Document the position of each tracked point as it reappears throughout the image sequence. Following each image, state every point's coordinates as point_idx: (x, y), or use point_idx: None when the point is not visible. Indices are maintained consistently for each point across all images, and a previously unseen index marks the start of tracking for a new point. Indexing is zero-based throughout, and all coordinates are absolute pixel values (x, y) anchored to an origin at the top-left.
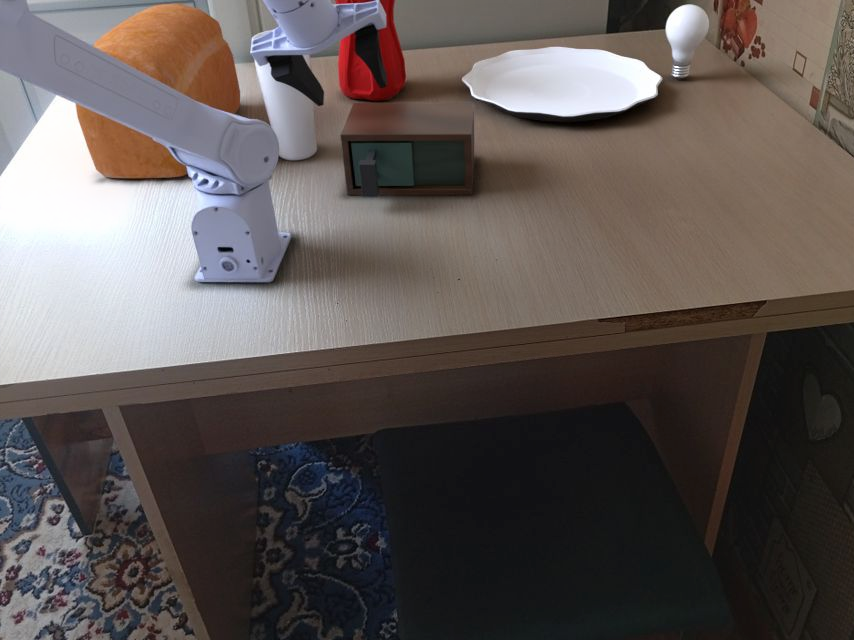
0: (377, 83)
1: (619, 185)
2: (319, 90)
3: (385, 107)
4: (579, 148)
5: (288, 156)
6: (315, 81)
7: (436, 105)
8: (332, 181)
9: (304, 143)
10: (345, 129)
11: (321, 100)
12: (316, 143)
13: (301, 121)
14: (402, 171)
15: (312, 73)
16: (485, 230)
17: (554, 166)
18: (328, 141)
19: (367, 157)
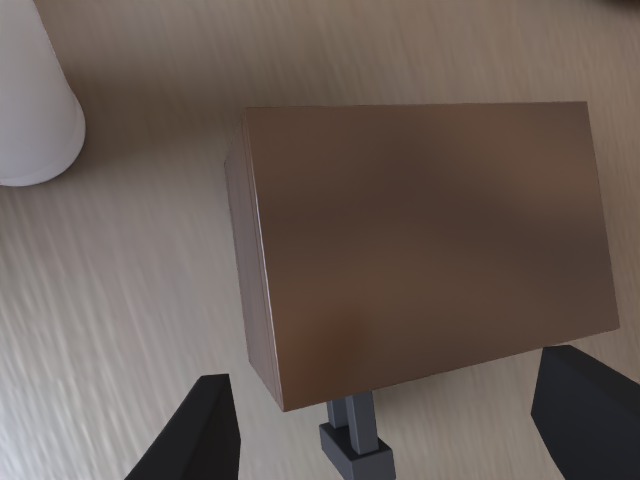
0: (554, 459)
1: None
2: (225, 437)
3: (368, 151)
4: (627, 88)
5: (5, 185)
6: (210, 457)
7: (507, 129)
8: (187, 292)
9: (53, 160)
10: (288, 364)
11: (236, 450)
12: (81, 112)
13: (30, 143)
14: None
15: (193, 469)
16: (538, 443)
17: (601, 168)
18: (96, 39)
19: (360, 428)
